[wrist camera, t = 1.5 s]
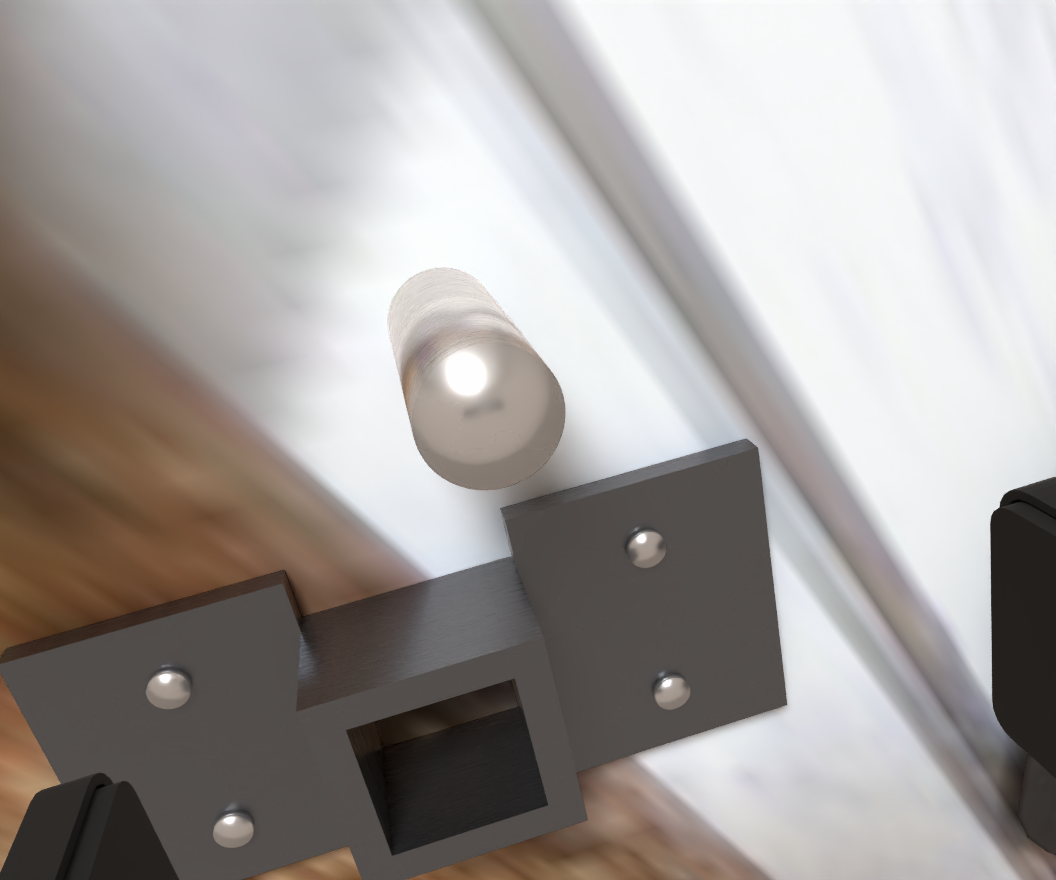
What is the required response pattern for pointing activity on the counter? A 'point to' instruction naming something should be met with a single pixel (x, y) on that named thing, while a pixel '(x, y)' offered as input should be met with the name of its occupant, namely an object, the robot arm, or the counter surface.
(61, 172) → the counter surface
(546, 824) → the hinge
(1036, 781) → the casserole
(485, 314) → the pin
